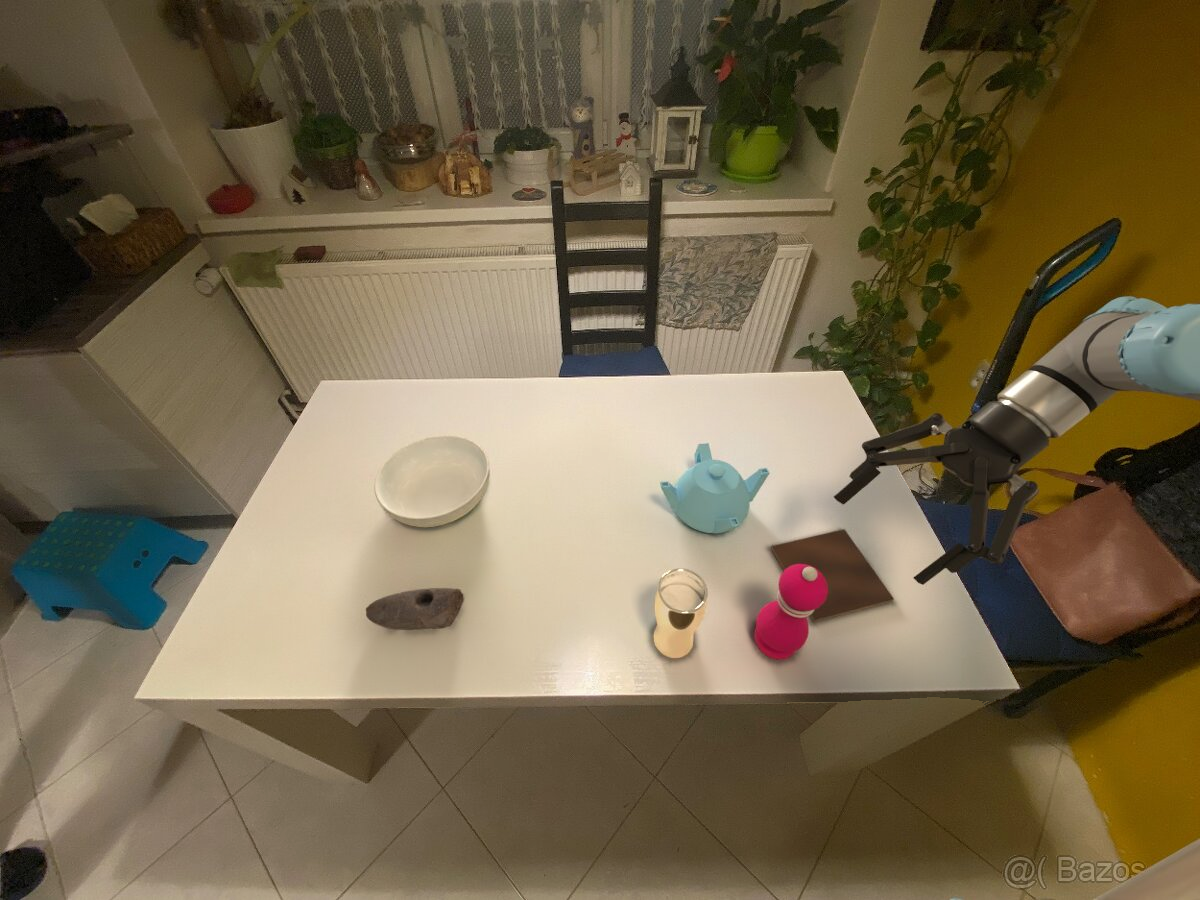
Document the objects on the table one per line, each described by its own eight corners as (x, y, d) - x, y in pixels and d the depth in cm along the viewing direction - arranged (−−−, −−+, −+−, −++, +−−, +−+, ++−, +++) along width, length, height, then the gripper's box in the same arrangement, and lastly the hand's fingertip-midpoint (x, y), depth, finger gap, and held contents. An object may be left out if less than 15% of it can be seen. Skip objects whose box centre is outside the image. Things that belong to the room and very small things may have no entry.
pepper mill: (751, 659, 75) (784, 592, 61) (749, 614, 80) (779, 542, 66) (802, 667, 75) (847, 600, 60) (797, 620, 80) (837, 549, 65)
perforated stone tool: (368, 637, 79) (351, 616, 74) (377, 606, 83) (362, 584, 78) (464, 633, 79) (454, 612, 74) (469, 602, 83) (460, 580, 78)
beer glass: (697, 621, 80) (710, 570, 69) (695, 665, 75) (708, 618, 64) (652, 614, 81) (658, 563, 70) (648, 657, 76) (653, 609, 65)
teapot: (765, 501, 96) (778, 462, 89) (728, 556, 88) (740, 518, 80) (694, 466, 103) (700, 427, 95) (654, 514, 94) (658, 476, 87)
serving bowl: (499, 455, 106) (494, 431, 101) (489, 538, 91) (482, 515, 87) (399, 460, 106) (389, 436, 101) (373, 544, 91) (359, 522, 86)
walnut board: (891, 602, 81) (894, 598, 81) (813, 622, 79) (814, 619, 79) (842, 532, 91) (844, 528, 90) (770, 549, 89) (772, 545, 88)
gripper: (1136, 503, 54) (963, 623, 60) (939, 373, 70) (820, 479, 76) (1142, 486, 48) (952, 620, 55) (927, 350, 64) (801, 466, 71)
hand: (875, 538), depth 66 cm, fingers open, 13 cm apart
